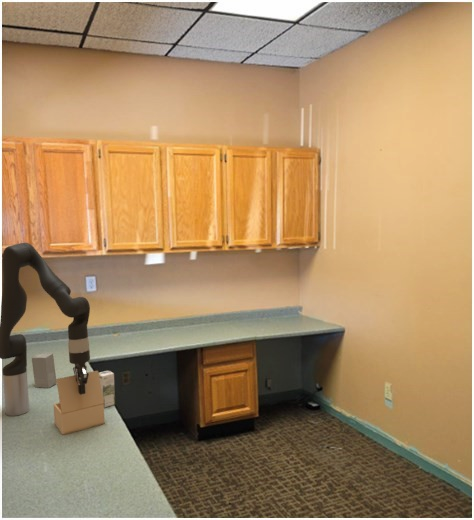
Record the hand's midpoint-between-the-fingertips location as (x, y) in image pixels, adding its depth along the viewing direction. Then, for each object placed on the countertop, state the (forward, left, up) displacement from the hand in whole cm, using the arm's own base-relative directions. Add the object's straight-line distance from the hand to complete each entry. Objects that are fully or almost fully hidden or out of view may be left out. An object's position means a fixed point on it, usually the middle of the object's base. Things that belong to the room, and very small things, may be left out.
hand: (82, 393), depth 177 cm
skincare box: (-62, -1, -14) cm, 64 cm away
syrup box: (-18, +15, -14) cm, 28 cm away
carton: (-6, 0, -14) cm, 15 cm away
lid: (-3, 0, 0) cm, 3 cm away
